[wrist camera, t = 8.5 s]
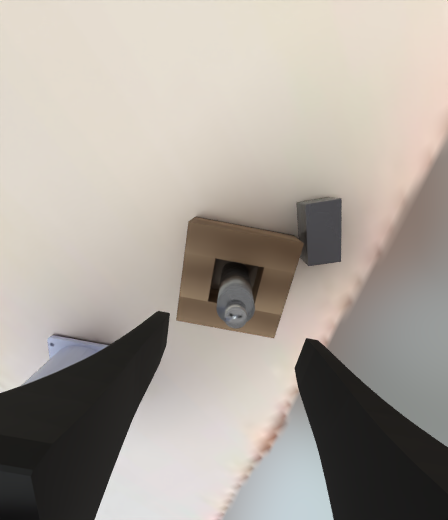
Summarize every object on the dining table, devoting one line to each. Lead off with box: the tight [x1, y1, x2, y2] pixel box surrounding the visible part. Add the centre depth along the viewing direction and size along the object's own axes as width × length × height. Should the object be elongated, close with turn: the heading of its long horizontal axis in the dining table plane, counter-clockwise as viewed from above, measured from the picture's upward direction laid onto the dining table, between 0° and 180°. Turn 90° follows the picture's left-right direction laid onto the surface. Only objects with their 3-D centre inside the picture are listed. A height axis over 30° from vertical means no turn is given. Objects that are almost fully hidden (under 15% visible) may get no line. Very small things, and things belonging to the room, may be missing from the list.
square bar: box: [297, 197, 341, 266], centre depth 18 cm, size 5×3×3 cm, turn 9°
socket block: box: [176, 217, 304, 338], centre depth 19 cm, size 9×9×3 cm
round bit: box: [216, 262, 255, 329], centre depth 16 cm, size 3×3×7 cm
